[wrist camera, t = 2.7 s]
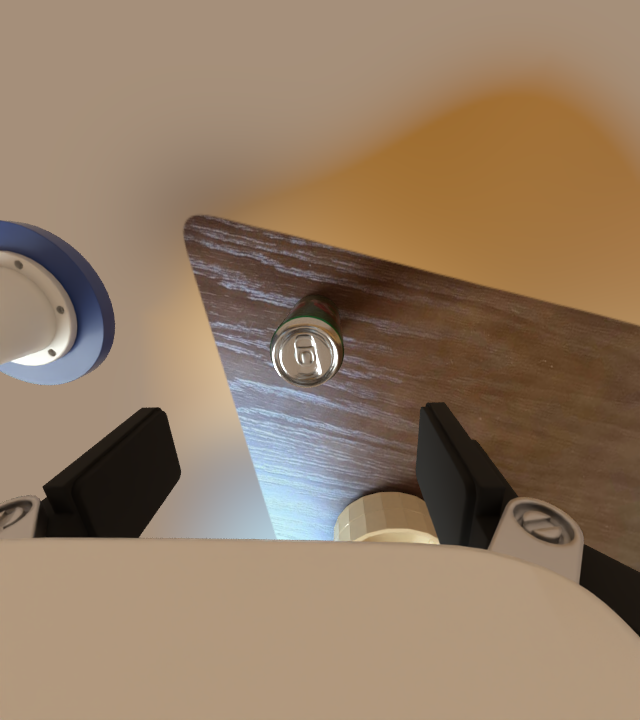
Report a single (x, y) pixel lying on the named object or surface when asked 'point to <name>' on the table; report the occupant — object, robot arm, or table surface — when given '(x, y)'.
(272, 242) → the table surface
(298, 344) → the soda can
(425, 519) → the bowl
